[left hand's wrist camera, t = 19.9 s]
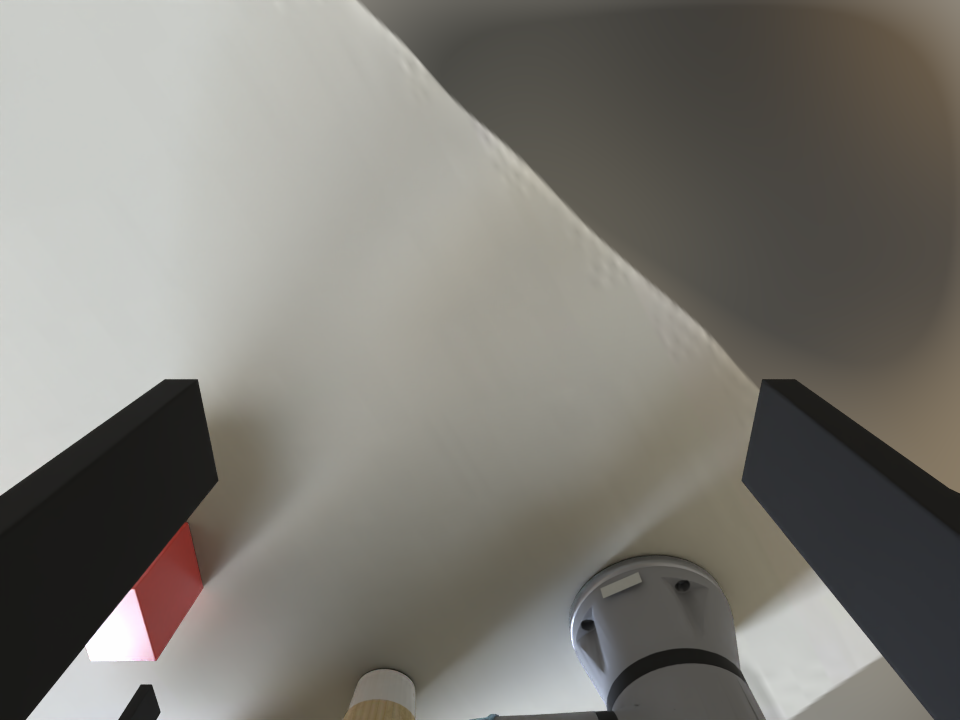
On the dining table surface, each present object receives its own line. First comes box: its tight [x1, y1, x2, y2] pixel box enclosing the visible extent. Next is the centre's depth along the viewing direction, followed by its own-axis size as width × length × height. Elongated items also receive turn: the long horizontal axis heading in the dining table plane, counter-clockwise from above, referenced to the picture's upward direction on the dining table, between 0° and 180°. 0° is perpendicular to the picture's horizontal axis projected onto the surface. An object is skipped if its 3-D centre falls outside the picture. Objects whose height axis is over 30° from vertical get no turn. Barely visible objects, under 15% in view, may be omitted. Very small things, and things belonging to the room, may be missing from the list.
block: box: [85, 522, 203, 661], centre depth 46 cm, size 6×8×8 cm
